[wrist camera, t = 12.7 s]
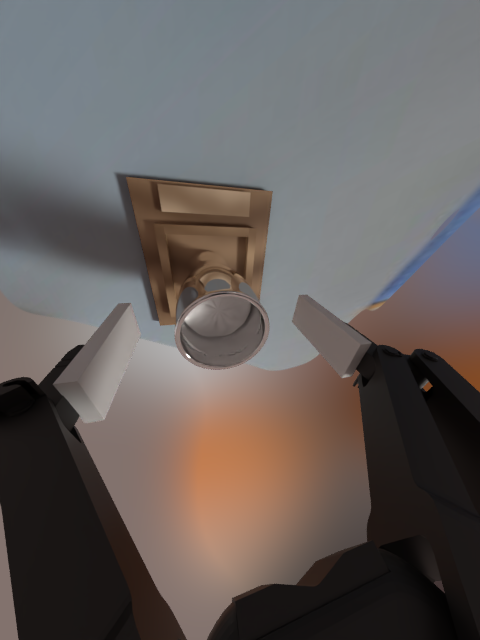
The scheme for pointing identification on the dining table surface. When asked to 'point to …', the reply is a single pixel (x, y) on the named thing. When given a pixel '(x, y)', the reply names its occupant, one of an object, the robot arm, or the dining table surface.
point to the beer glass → (218, 315)
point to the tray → (197, 232)
